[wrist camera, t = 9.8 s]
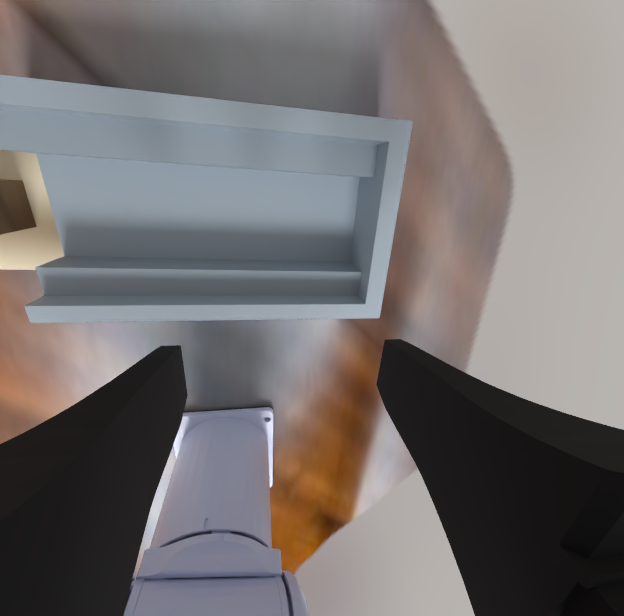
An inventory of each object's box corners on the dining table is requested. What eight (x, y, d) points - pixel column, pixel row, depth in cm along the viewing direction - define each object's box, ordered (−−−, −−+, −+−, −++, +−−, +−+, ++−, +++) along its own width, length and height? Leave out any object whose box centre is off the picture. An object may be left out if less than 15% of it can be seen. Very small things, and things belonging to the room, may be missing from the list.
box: (357, 292, 21) (379, 318, 17) (80, 291, 18) (30, 323, 14) (377, 134, 17) (413, 121, 13) (29, 99, 14) (-62, 67, 10)
